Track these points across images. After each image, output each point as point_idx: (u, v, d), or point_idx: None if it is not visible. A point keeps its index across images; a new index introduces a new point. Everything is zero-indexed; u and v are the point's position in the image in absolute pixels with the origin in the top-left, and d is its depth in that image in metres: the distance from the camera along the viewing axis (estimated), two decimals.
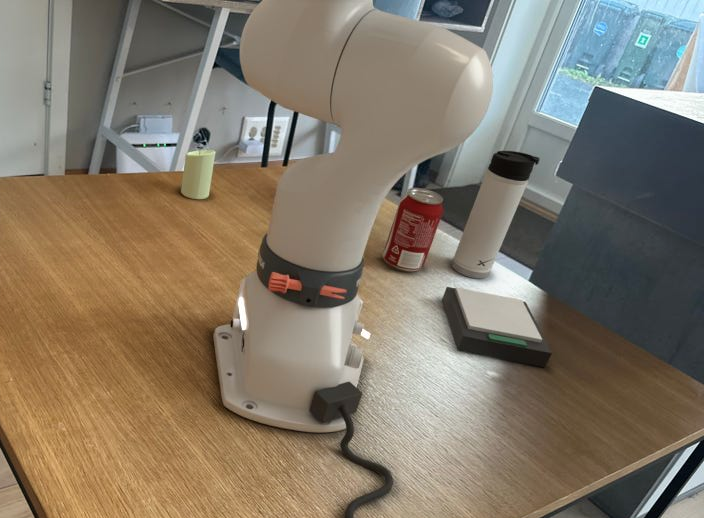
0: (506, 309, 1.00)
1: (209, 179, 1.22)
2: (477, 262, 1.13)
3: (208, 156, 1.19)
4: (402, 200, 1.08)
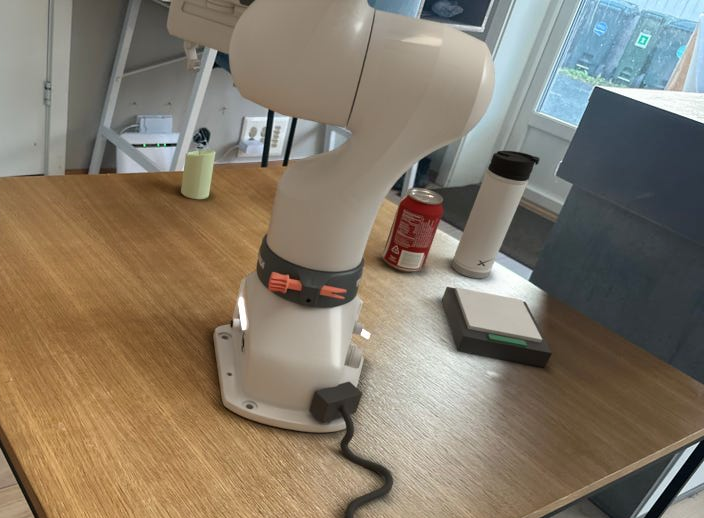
0: (506, 309, 1.00)
1: (209, 179, 1.22)
2: (477, 262, 1.13)
3: (208, 156, 1.19)
4: (402, 200, 1.08)
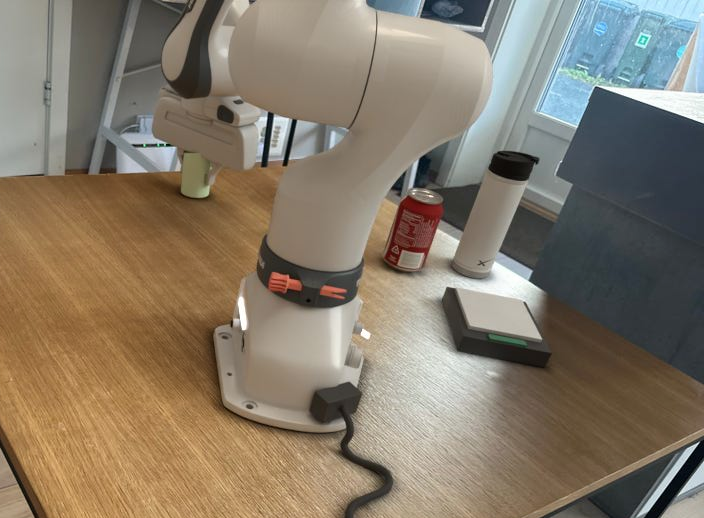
0: (506, 309, 1.00)
1: None
2: (477, 262, 1.13)
3: None
4: (402, 200, 1.08)
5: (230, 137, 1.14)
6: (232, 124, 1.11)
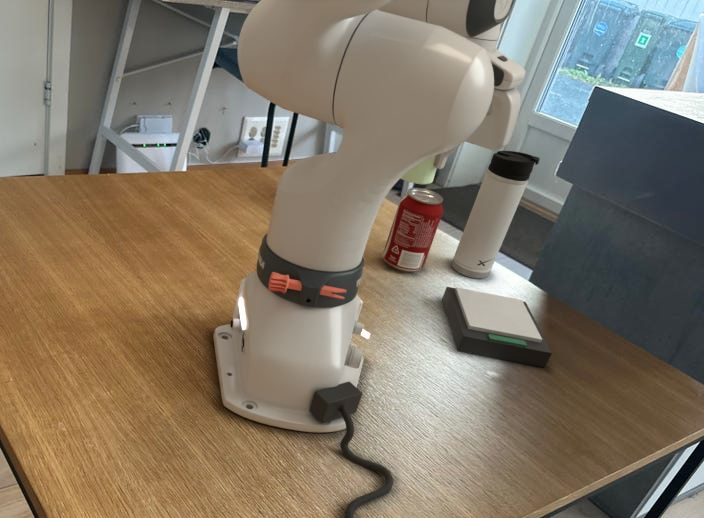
0: (506, 309, 1.00)
1: None
2: (477, 262, 1.13)
3: None
4: (402, 200, 1.08)
5: None
6: (499, 87, 0.86)
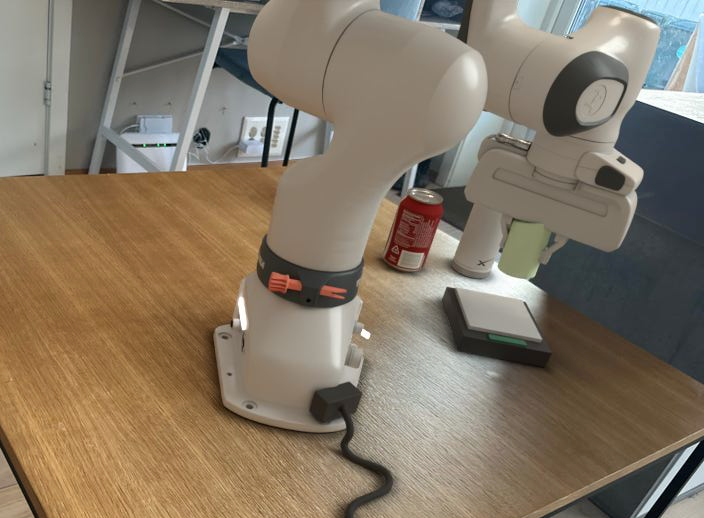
0: (506, 309, 1.00)
1: None
2: (477, 262, 1.13)
3: None
4: (402, 200, 1.08)
5: (603, 206, 0.85)
6: (619, 191, 0.82)
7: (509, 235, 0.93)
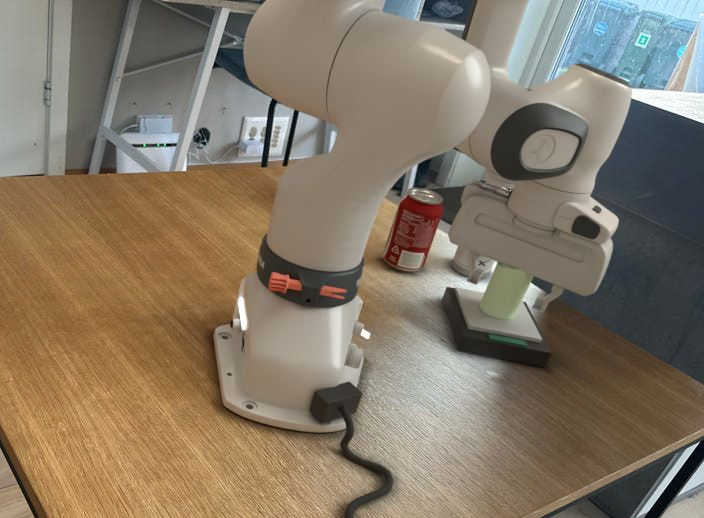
0: None
1: (524, 295, 0.97)
2: None
3: None
4: (402, 200, 1.08)
5: (580, 252, 0.88)
6: (595, 240, 0.85)
7: (492, 277, 0.97)
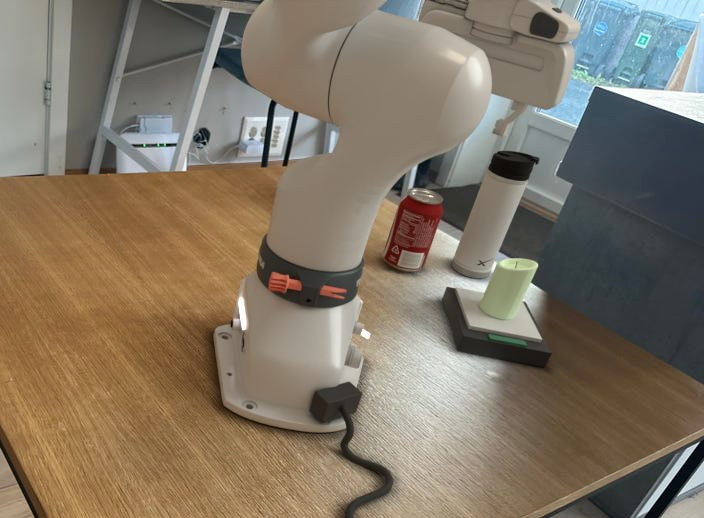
0: None
1: (524, 295, 0.97)
2: (477, 262, 1.13)
3: (533, 270, 0.94)
4: (402, 200, 1.08)
5: (539, 59, 0.84)
6: (553, 39, 0.81)
7: (492, 277, 0.97)
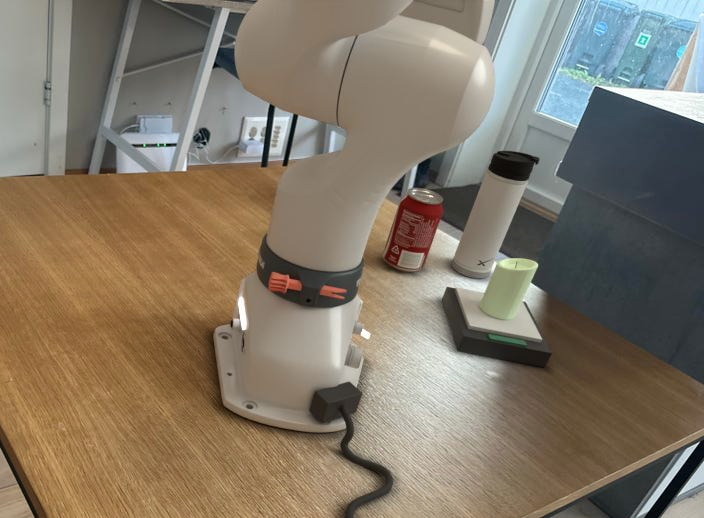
0: None
1: (524, 295, 0.97)
2: (477, 262, 1.13)
3: (533, 270, 0.94)
4: (402, 200, 1.08)
5: (460, 1, 0.87)
6: None
7: (492, 277, 0.97)
